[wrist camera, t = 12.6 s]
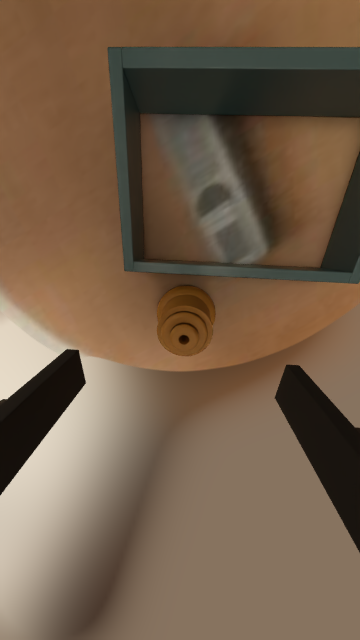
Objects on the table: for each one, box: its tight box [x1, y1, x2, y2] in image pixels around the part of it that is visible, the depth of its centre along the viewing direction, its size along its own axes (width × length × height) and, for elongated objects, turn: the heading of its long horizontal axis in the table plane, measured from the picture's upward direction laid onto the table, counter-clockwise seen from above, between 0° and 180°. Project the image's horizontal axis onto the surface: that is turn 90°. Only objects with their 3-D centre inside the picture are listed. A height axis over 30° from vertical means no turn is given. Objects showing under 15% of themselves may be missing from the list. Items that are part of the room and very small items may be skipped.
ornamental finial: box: [157, 286, 215, 356], centre depth 20 cm, size 8×8×8 cm
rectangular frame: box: [108, 47, 360, 284], centre depth 16 cm, size 15×23×4 cm, turn 87°
